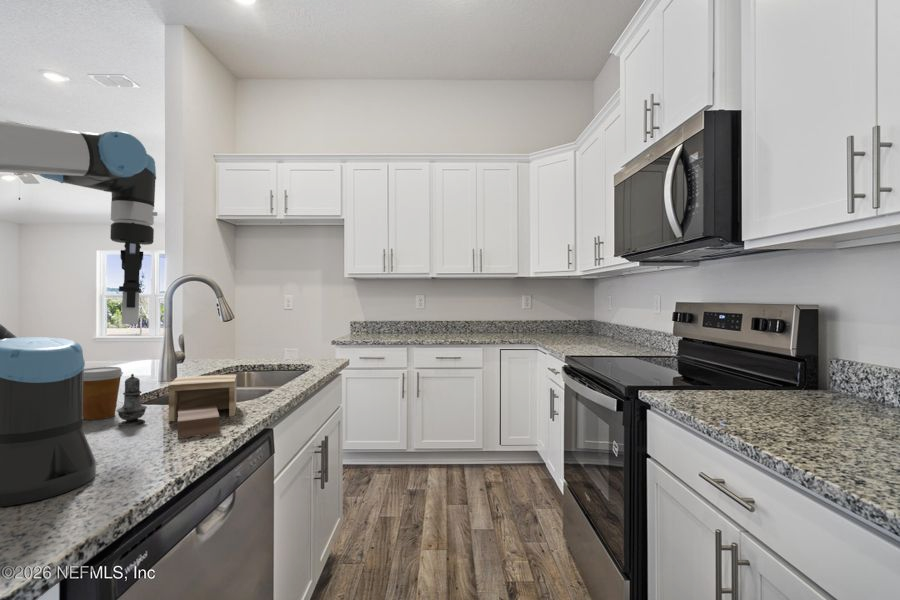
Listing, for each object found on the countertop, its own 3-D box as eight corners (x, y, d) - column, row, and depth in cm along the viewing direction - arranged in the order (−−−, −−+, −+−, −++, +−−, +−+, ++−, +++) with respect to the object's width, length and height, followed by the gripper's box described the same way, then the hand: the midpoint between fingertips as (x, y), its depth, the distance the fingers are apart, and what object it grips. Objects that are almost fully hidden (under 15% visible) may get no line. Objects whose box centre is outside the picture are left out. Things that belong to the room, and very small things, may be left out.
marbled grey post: (142, 425, 103) (143, 374, 103) (112, 428, 101) (113, 376, 101) (149, 419, 109) (150, 371, 108) (121, 421, 106) (121, 372, 106)
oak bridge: (234, 416, 112) (234, 381, 112) (168, 422, 106) (168, 385, 106) (236, 406, 122) (236, 374, 122) (176, 411, 116) (176, 377, 116)
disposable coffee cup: (70, 424, 104) (71, 373, 104) (78, 414, 112) (78, 368, 112) (120, 418, 109) (120, 370, 109) (124, 410, 117) (125, 365, 117)
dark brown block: (219, 434, 98) (219, 416, 98) (177, 440, 94) (177, 421, 94) (215, 421, 108) (216, 405, 108) (178, 426, 104) (178, 409, 104)
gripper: (157, 217, 86) (153, 325, 86) (151, 233, 106) (148, 320, 106) (109, 212, 82) (105, 325, 81) (112, 229, 102) (109, 320, 101)
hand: (129, 323), depth 94 cm, fingers open, 13 cm apart
